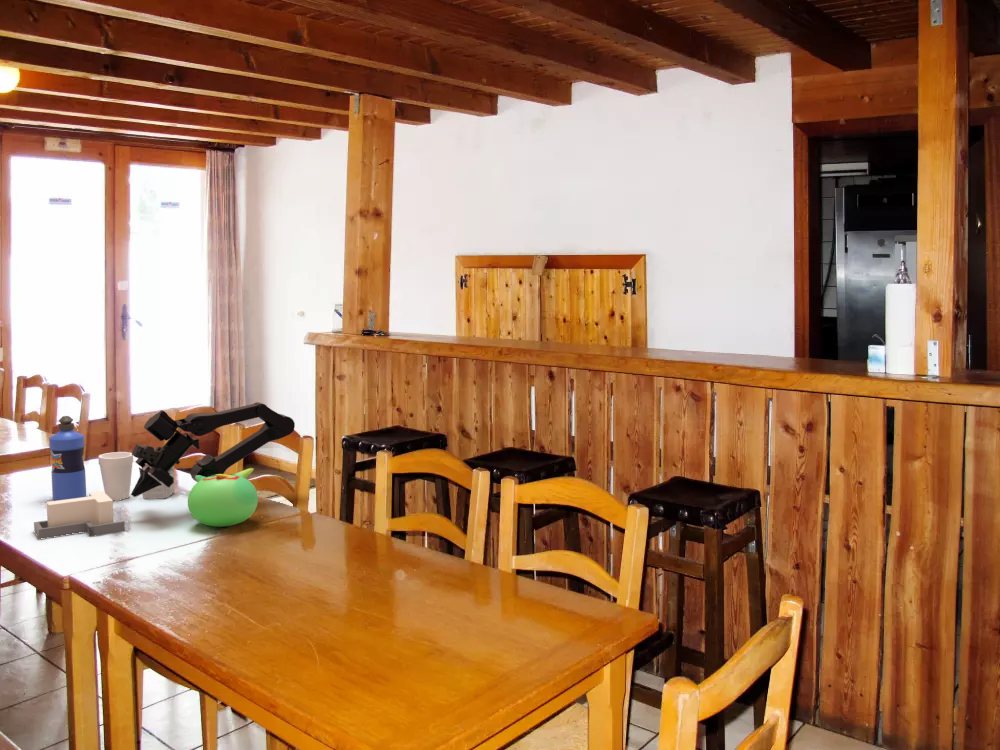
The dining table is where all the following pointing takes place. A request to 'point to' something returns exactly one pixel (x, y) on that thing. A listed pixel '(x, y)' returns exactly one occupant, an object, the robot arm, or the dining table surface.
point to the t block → (81, 510)
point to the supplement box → (161, 489)
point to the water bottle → (67, 462)
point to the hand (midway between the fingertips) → (132, 495)
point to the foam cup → (116, 474)
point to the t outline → (77, 529)
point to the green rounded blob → (223, 499)
